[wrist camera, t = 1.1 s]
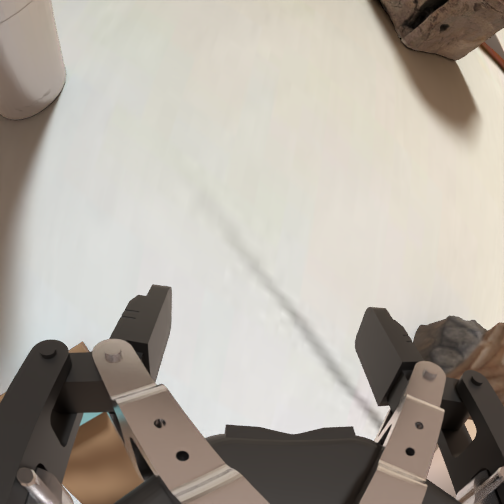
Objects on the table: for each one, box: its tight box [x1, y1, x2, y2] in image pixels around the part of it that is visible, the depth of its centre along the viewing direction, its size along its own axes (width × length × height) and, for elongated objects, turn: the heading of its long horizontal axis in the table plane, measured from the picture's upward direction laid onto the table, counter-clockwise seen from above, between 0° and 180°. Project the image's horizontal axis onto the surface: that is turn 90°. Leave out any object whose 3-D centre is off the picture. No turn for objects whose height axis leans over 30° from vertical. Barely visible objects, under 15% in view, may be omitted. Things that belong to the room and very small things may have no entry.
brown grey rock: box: [413, 316, 504, 420], centre depth 28 cm, size 13×13×20 cm
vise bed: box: [0, 342, 143, 504], centre depth 22 cm, size 19×12×4 cm, turn 33°
